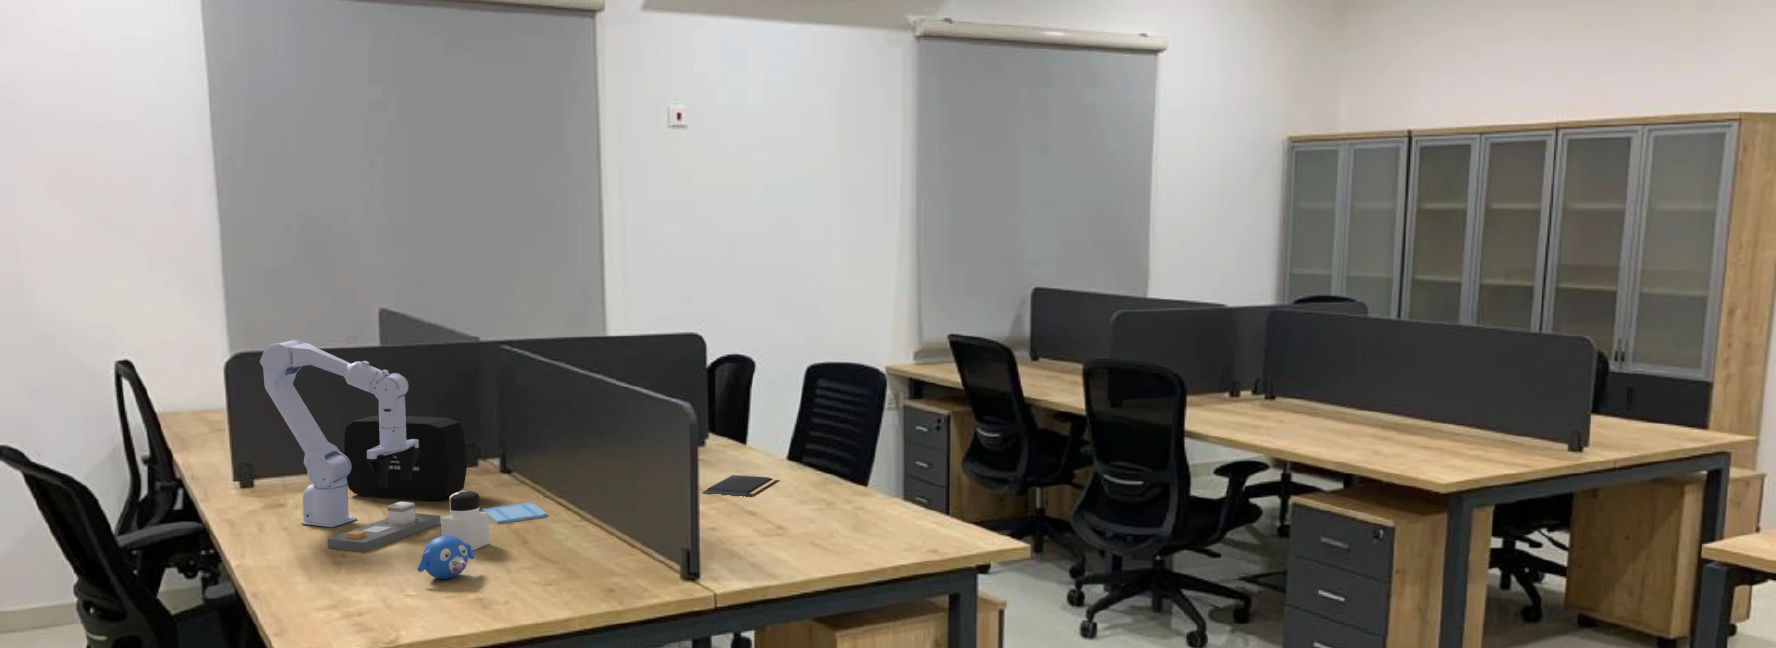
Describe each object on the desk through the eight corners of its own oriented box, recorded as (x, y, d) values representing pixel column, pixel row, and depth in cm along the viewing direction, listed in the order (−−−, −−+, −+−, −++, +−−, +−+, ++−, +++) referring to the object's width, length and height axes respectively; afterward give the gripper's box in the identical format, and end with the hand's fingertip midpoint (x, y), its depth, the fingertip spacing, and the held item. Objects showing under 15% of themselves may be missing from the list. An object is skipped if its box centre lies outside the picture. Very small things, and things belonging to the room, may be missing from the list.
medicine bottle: (490, 544, 256) (488, 490, 255) (468, 553, 249) (466, 498, 248) (463, 541, 258) (461, 488, 257) (441, 549, 252) (439, 495, 251)
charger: (388, 531, 266) (387, 505, 266) (401, 527, 270) (400, 501, 270) (403, 533, 265) (402, 507, 265) (415, 528, 269) (414, 502, 268)
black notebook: (731, 472, 322) (782, 476, 317) (731, 479, 322) (782, 483, 317) (698, 488, 303) (752, 493, 298) (698, 496, 303) (752, 500, 298)
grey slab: (365, 551, 250) (364, 538, 250) (327, 547, 253) (327, 534, 253) (440, 523, 273) (440, 511, 272) (405, 520, 276) (405, 507, 276)
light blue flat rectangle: (548, 519, 279) (548, 513, 279) (497, 526, 273) (497, 520, 273) (531, 507, 291) (531, 502, 290) (482, 513, 284) (482, 508, 284)
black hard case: (344, 496, 300) (341, 419, 298) (376, 485, 311) (373, 411, 310) (448, 503, 292) (445, 424, 291) (476, 492, 304) (474, 416, 302)
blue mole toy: (437, 593, 223) (436, 550, 222) (407, 580, 231) (405, 539, 230) (494, 578, 232) (493, 537, 231) (463, 566, 240) (461, 526, 239)
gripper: (383, 432, 264) (385, 491, 265) (428, 422, 278) (430, 478, 279) (358, 430, 266) (360, 489, 267) (404, 420, 280) (406, 476, 281)
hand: (394, 483), depth 273 cm, fingers open, 7 cm apart
